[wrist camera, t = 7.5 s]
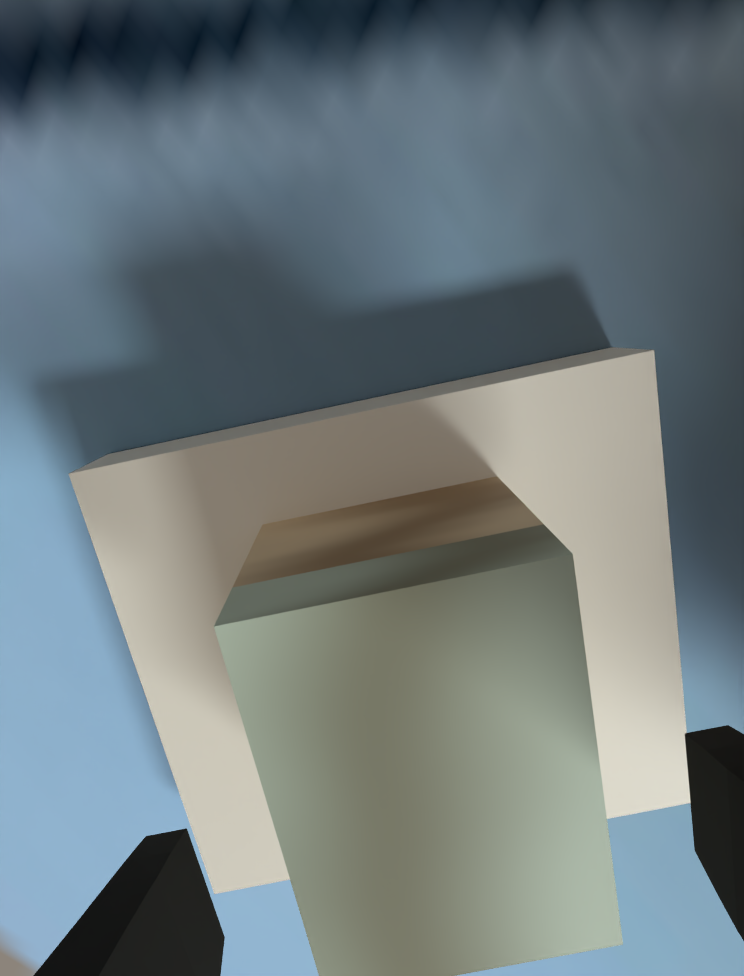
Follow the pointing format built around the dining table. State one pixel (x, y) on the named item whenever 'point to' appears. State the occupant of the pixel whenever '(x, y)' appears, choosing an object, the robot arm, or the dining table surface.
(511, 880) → the sage green block
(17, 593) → the dining table surface
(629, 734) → the white stand
